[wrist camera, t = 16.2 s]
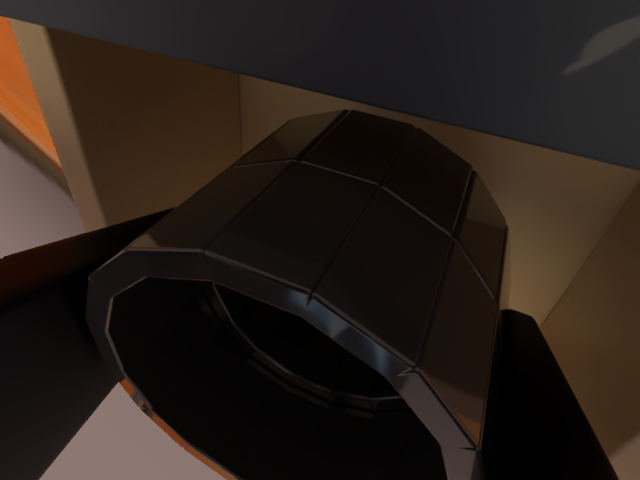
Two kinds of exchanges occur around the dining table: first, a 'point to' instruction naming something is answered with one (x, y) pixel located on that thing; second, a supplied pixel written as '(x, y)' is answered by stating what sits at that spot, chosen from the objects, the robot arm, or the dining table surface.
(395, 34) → the cabinet
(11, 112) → the dining table surface
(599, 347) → the drawer
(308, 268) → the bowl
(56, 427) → the robot arm
